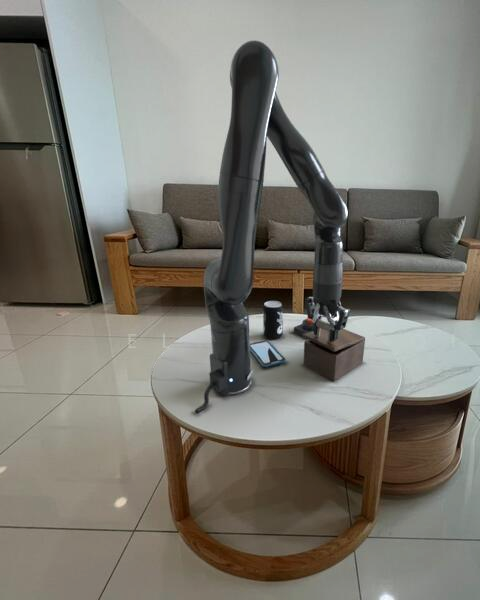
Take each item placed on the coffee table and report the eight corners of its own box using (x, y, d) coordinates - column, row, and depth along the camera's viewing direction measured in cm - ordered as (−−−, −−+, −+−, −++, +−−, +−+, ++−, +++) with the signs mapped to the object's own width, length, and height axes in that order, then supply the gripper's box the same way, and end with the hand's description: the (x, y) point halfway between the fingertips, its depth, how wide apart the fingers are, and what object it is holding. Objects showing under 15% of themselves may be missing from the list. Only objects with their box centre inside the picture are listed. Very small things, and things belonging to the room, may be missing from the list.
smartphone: (267, 339, 107) (286, 360, 95) (267, 342, 107) (286, 362, 95) (246, 344, 104) (263, 366, 91) (246, 346, 104) (263, 368, 92)
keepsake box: (334, 381, 87) (336, 356, 84) (303, 365, 94) (304, 341, 92) (362, 363, 96) (365, 340, 94) (332, 349, 104) (334, 327, 101)
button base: (310, 340, 109) (310, 329, 108) (293, 332, 114) (293, 322, 113) (328, 331, 116) (329, 321, 115) (312, 324, 121) (312, 314, 120)
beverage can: (273, 342, 107) (273, 309, 103) (259, 336, 111) (258, 304, 107) (286, 335, 112) (286, 303, 108) (272, 330, 116) (272, 299, 112)
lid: (334, 351, 83) (337, 330, 82) (302, 336, 91) (304, 317, 89) (365, 339, 94) (368, 321, 92) (334, 327, 101) (336, 309, 99)
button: (312, 326, 111) (312, 321, 111) (304, 322, 114) (304, 318, 113) (318, 323, 114) (319, 318, 113) (311, 320, 116) (311, 315, 116)
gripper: (297, 275, 85) (297, 333, 91) (340, 288, 75) (337, 352, 81) (316, 270, 90) (315, 325, 96) (359, 281, 80) (354, 342, 87)
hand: (325, 337), depth 89 cm, fingers closed on lid, 5 cm apart
